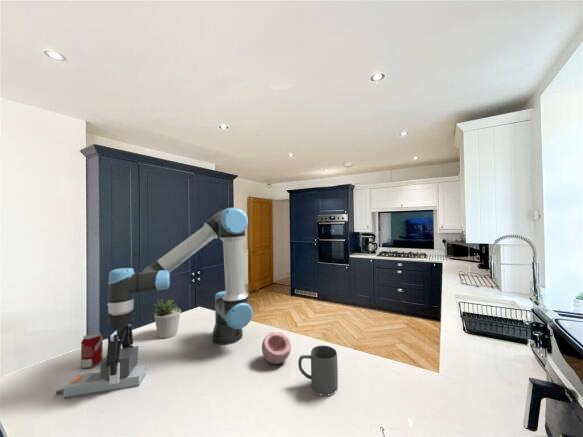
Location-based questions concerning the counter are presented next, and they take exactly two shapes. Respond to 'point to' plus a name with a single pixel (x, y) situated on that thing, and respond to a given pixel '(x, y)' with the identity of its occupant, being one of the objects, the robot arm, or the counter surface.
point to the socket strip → (101, 383)
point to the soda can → (91, 350)
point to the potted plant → (166, 319)
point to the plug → (121, 363)
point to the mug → (322, 369)
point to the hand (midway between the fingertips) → (120, 375)
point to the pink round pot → (276, 347)
